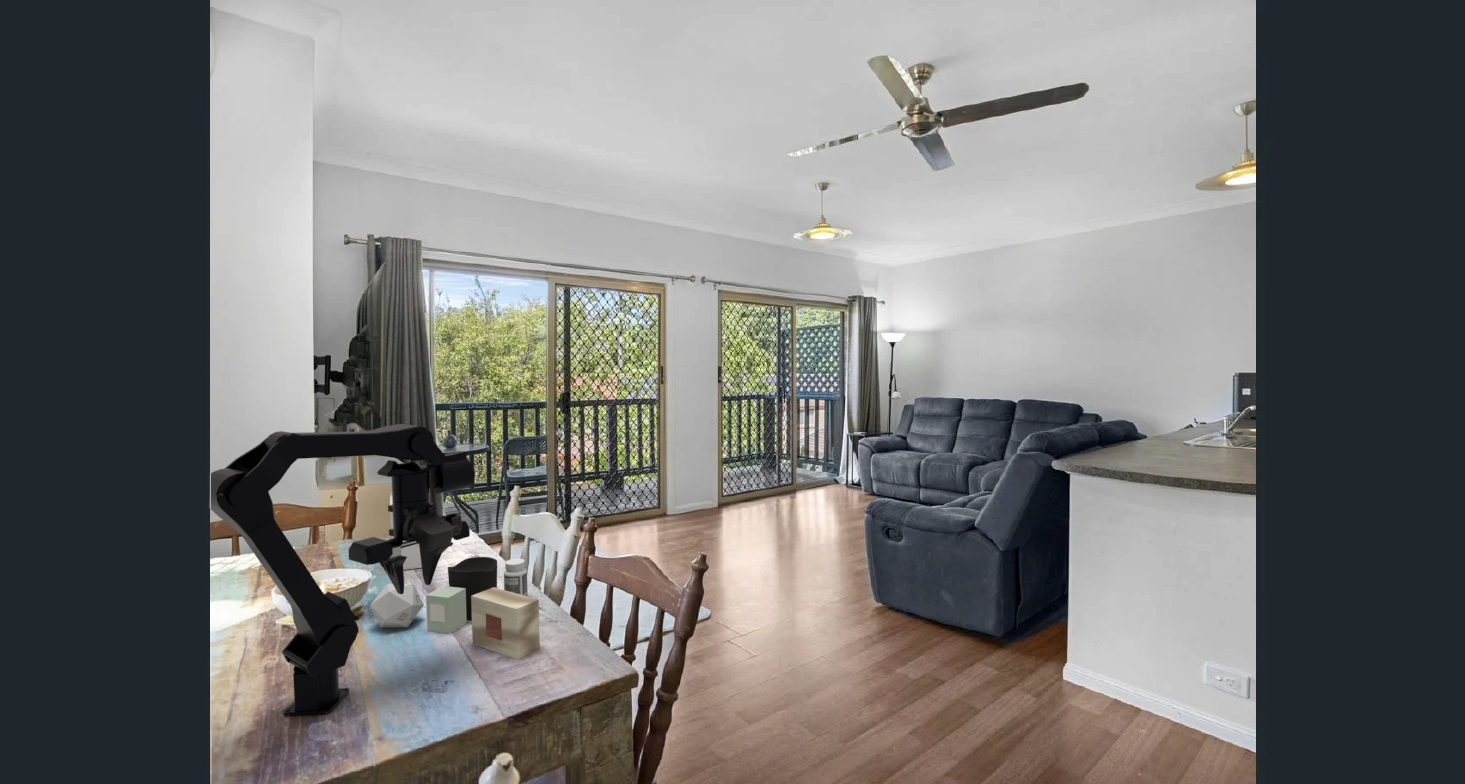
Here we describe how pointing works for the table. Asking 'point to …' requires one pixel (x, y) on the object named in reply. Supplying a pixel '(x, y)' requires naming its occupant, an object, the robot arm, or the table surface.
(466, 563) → the pen holder
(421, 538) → the robot arm
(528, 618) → the birch block
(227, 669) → the table surface
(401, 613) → the die
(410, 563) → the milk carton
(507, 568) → the pill bottle
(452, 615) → the sage block
